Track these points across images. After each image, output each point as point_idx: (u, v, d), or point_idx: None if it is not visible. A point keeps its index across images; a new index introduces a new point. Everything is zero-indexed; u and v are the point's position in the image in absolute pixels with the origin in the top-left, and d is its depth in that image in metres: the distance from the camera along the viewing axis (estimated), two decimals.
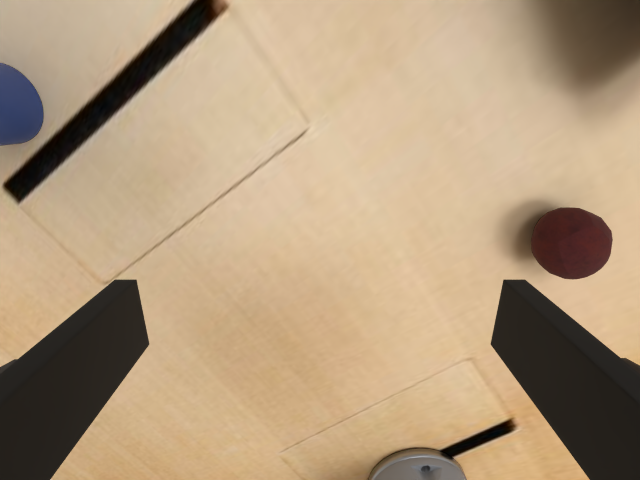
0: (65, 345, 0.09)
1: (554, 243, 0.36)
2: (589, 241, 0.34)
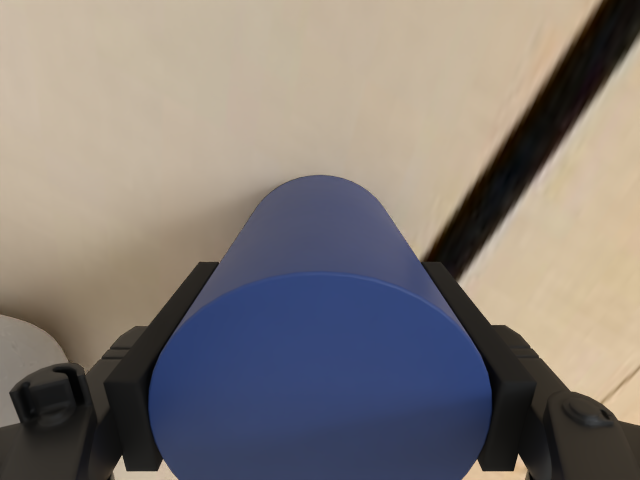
0: (184, 312, 0.10)
1: None
2: None
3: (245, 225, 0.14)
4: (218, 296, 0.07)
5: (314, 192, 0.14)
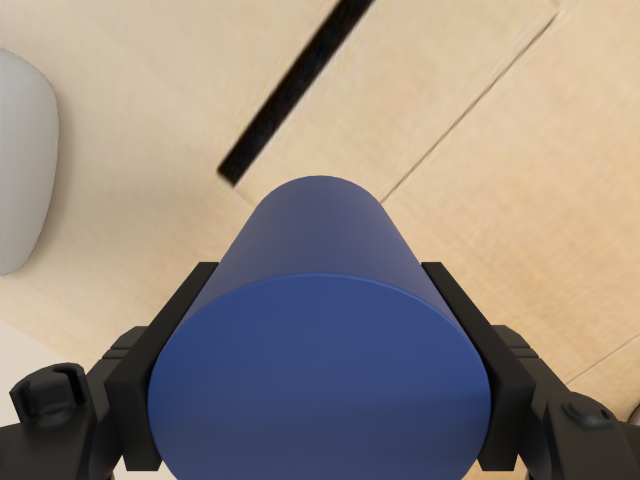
0: (184, 312, 0.10)
1: None
2: None
3: (244, 225, 0.14)
4: (217, 297, 0.07)
5: (313, 193, 0.14)
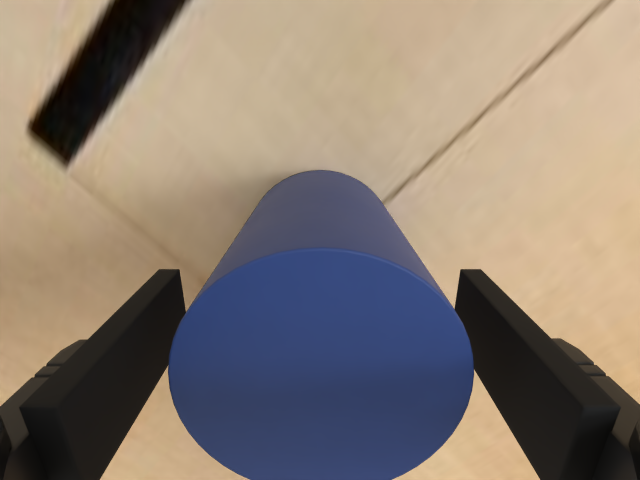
0: (128, 325, 0.10)
1: None
2: None
3: (251, 216, 0.15)
4: (232, 270, 0.08)
5: (315, 185, 0.15)
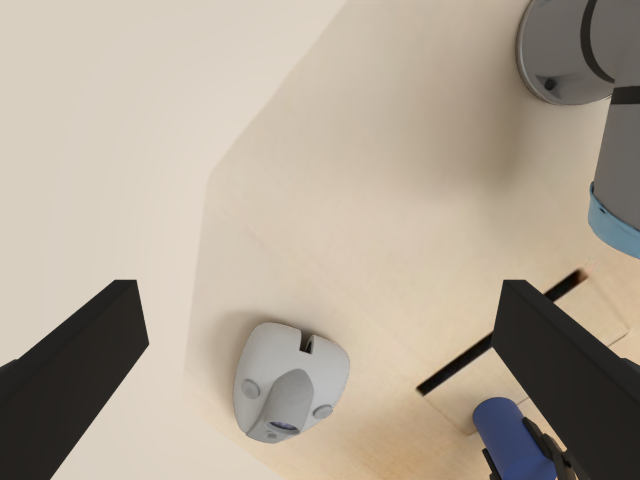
0: (64, 345, 0.09)
1: None
2: None
3: (491, 422, 0.58)
4: (520, 458, 0.51)
5: (509, 415, 0.57)
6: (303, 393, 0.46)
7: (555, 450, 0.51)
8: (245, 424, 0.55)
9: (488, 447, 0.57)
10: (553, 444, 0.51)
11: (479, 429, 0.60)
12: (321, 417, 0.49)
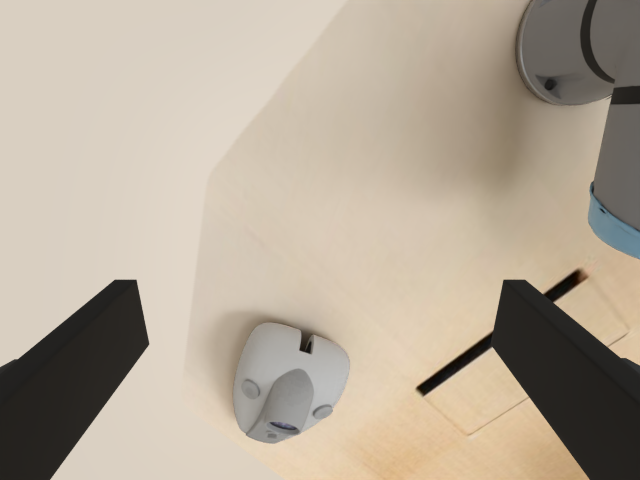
0: (64, 345, 0.09)
1: None
2: None
3: None
4: None
5: None
6: (303, 393, 0.46)
7: None
8: (245, 424, 0.55)
9: None
10: None
11: None
12: (321, 417, 0.49)
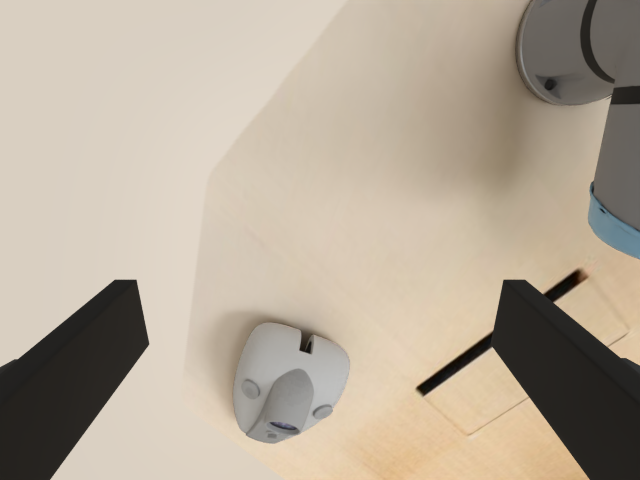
0: (64, 345, 0.09)
1: None
2: None
3: None
4: None
5: None
6: (303, 393, 0.46)
7: None
8: (245, 424, 0.55)
9: None
10: None
11: None
12: (321, 417, 0.49)
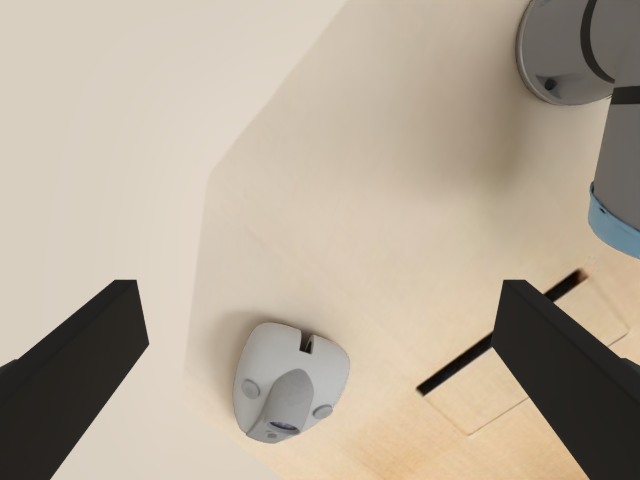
0: (64, 345, 0.09)
1: None
2: None
3: None
4: None
5: None
6: (303, 393, 0.46)
7: None
8: (245, 424, 0.55)
9: None
10: None
11: None
12: (321, 417, 0.49)
